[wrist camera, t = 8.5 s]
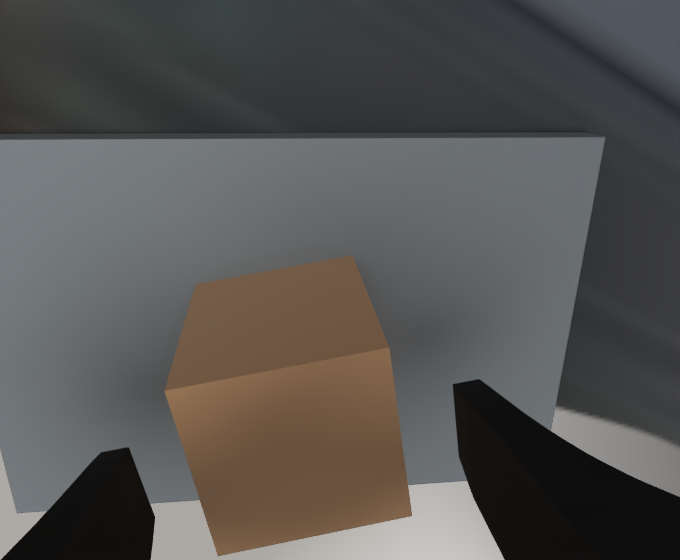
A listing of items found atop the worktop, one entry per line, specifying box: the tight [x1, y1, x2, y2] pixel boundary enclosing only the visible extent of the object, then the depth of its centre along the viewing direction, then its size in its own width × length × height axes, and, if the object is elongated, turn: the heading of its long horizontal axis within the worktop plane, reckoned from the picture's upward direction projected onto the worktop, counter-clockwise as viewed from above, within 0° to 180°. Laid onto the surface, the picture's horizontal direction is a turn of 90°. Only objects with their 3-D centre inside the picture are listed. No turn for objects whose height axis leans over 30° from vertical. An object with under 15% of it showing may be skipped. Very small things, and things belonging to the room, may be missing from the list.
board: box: [0, 132, 605, 513], centre depth 17 cm, size 18×12×4 cm, turn 89°
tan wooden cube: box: [165, 255, 412, 556], centre depth 15 cm, size 5×5×6 cm
